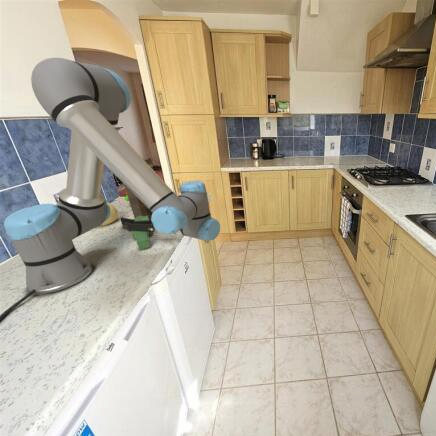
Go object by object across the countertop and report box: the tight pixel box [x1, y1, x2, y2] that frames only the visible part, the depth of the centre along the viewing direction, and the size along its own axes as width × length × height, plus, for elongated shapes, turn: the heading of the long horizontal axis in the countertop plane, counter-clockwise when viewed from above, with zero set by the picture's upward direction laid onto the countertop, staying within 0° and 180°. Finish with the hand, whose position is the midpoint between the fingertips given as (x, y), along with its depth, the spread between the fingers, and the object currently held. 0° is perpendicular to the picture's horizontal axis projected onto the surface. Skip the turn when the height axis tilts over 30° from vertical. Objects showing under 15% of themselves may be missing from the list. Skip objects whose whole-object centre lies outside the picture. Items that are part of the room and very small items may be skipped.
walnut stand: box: [105, 157, 153, 230], centre depth 109 cm, size 14×14×30 cm
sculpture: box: [99, 202, 119, 227], centre depth 116 cm, size 12×12×11 cm
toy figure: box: [130, 216, 152, 251], centre depth 101 cm, size 7×23×5 cm, turn 31°
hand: (135, 215), depth 93 cm, fingers open, 10 cm apart
